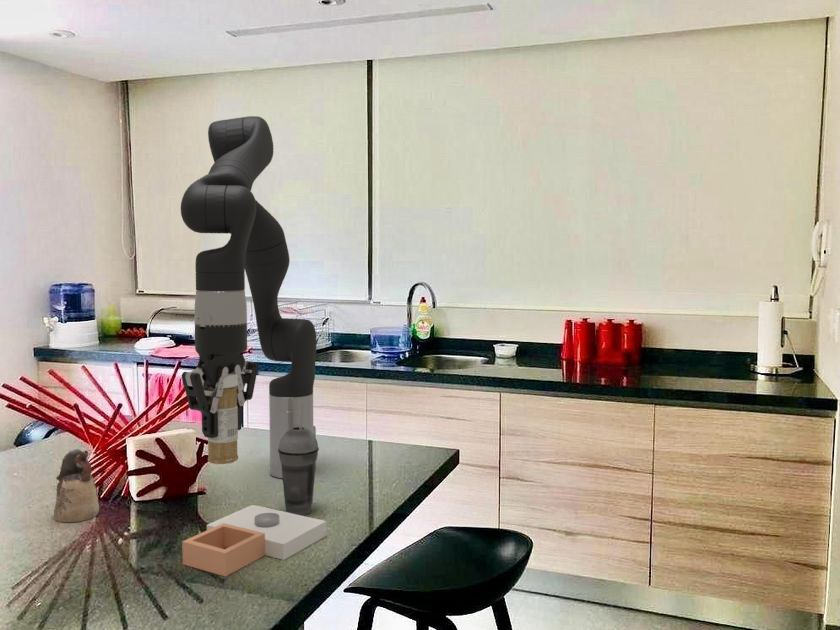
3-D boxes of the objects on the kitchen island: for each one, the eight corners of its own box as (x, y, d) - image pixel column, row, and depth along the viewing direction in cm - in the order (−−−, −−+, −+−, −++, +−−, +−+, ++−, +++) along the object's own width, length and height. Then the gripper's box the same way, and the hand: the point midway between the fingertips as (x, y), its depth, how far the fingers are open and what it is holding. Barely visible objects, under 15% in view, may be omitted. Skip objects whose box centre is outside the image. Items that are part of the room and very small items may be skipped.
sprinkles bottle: (227, 455, 111) (227, 369, 110) (244, 461, 108) (243, 373, 107) (201, 461, 107) (200, 373, 106) (217, 467, 104) (216, 376, 103)
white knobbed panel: (252, 518, 126) (252, 499, 126) (326, 535, 118) (326, 515, 118) (165, 559, 109) (164, 536, 109) (244, 582, 101) (244, 558, 101)
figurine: (80, 506, 131) (79, 442, 131) (108, 512, 128) (106, 447, 127) (45, 518, 125) (43, 451, 124) (73, 525, 122) (71, 457, 121)
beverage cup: (303, 502, 135) (303, 397, 133) (327, 512, 129) (326, 403, 128) (270, 511, 130) (269, 403, 128) (293, 522, 124) (292, 409, 123)
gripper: (235, 316, 114) (237, 421, 115) (165, 323, 101) (167, 440, 103) (272, 318, 110) (273, 426, 112) (204, 326, 98) (206, 447, 99)
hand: (222, 432), depth 107 cm, fingers closed on sprinkles bottle, 4 cm apart
